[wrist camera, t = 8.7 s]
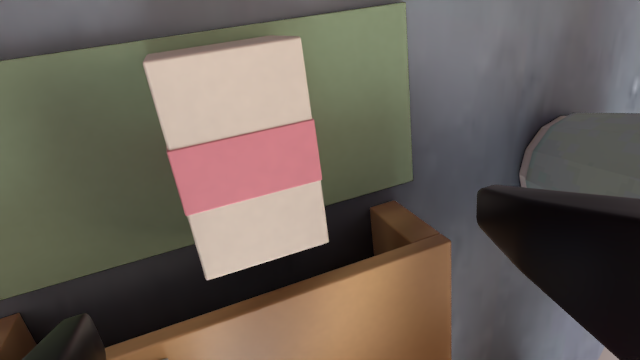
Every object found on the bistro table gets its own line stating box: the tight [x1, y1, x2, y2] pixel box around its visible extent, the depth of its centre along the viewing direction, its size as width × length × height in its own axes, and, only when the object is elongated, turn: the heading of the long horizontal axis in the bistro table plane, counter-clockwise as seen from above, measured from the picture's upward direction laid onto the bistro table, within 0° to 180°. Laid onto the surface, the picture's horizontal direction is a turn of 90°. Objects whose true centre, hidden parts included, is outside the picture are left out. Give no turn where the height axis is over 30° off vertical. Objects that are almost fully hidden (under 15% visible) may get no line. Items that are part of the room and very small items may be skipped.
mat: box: [0, 2, 413, 300], centre depth 17 cm, size 20×9×1 cm, turn 100°
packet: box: [143, 35, 329, 280], centre depth 16 cm, size 5×8×4 cm, turn 10°
